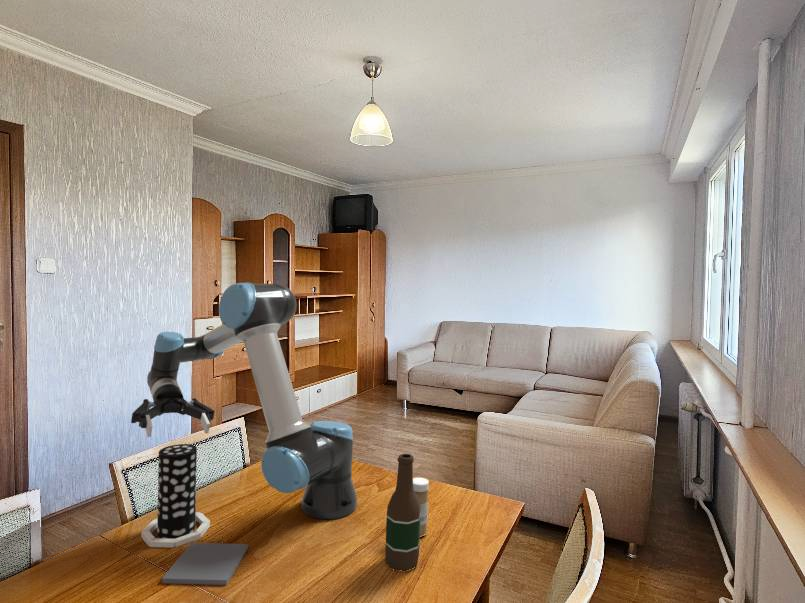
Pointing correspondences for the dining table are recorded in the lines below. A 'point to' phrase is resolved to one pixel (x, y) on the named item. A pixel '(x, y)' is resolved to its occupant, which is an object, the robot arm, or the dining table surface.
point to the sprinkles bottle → (422, 501)
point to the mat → (206, 564)
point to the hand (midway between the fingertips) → (179, 430)
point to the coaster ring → (176, 542)
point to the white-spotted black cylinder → (176, 491)
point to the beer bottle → (403, 520)
